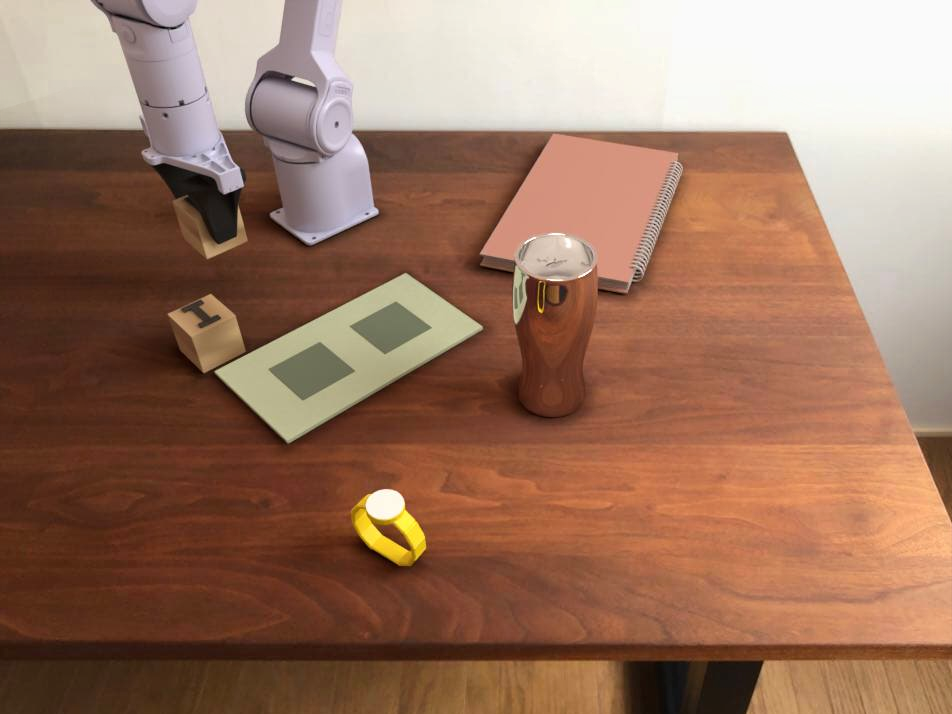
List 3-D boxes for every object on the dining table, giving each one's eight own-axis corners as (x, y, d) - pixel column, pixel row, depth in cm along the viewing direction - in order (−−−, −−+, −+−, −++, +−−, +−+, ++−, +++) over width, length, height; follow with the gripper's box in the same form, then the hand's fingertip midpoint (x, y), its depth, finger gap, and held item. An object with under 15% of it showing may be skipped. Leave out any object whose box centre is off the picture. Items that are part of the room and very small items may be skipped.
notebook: (637, 297, 90) (638, 281, 89) (480, 267, 94) (479, 251, 92) (685, 167, 109) (687, 152, 108) (553, 146, 112) (553, 131, 111)
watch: (349, 548, 68) (337, 498, 64) (372, 523, 70) (362, 473, 65) (412, 583, 66) (404, 534, 61) (434, 557, 67) (428, 507, 63)
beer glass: (501, 379, 81) (498, 241, 71) (570, 360, 83) (577, 223, 73) (531, 430, 77) (532, 290, 66) (603, 408, 79) (616, 269, 68)
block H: (224, 222, 89) (213, 182, 86) (248, 241, 87) (237, 200, 84) (184, 240, 87) (171, 198, 84) (207, 259, 85) (194, 217, 81)
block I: (222, 330, 86) (210, 291, 83) (246, 351, 84) (235, 313, 81) (180, 350, 84) (166, 312, 81) (203, 373, 82) (190, 335, 78)
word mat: (406, 275, 93) (405, 272, 92) (482, 329, 86) (482, 325, 86) (215, 374, 82) (213, 370, 81) (287, 444, 75) (286, 440, 75)
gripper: (90, 79, 78) (138, 213, 87) (170, 139, 71) (213, 278, 80) (165, 55, 81) (203, 187, 91) (249, 110, 74) (281, 247, 84)
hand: (212, 228), depth 86 cm, fingers closed on block H, 4 cm apart
